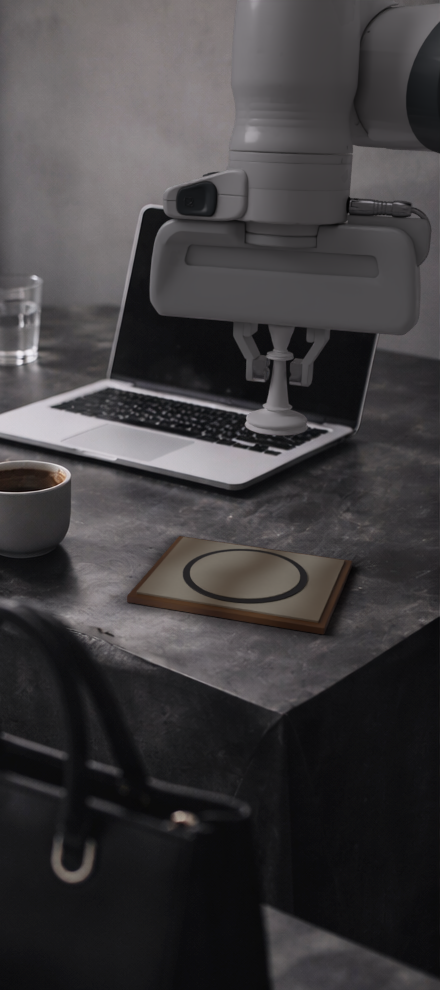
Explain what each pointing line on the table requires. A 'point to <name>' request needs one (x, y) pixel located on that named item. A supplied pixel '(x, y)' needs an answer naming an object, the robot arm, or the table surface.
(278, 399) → the chess piece
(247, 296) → the robot arm
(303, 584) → the wooden board
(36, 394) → the table surface
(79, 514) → the table surface
